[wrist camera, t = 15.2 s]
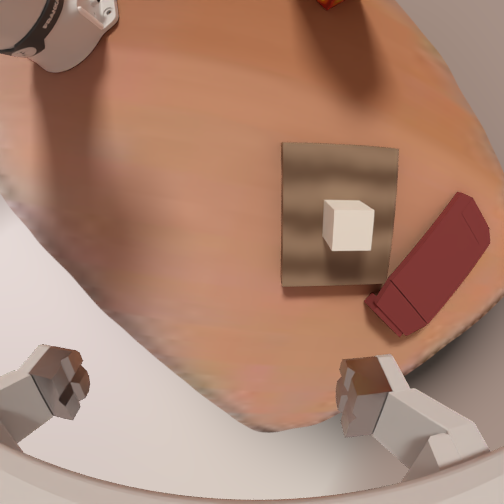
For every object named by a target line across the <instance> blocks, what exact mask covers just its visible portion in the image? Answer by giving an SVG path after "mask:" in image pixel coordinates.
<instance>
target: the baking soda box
mask: <svg viewBox="0 0 504 504" xmlns="http://www.w3.org/2000/svg"><path fill="white" fill-rule="evenodd" d="M317 1H318V2H319V3H320V4H321V5H322V6H323V7H324V8H325V9H326V10H329V9H330V8H332V7H334V6H336V5H337V4H339V3H341V2H343V1H345V0H317Z"/></svg>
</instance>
